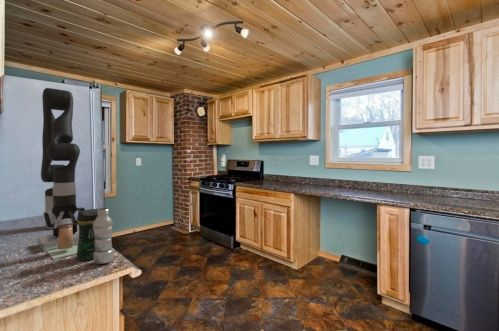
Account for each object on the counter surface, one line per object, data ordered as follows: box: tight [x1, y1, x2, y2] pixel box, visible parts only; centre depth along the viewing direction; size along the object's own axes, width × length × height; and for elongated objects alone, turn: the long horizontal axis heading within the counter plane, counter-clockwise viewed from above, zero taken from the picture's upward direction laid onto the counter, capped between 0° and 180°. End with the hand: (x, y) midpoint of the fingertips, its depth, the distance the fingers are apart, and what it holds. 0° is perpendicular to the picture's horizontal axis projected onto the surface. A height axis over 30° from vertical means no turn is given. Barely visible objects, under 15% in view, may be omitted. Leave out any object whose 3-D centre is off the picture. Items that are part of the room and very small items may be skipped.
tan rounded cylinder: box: [57, 223, 73, 250], centre depth 105 cm, size 5×5×9 cm
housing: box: [36, 233, 79, 253], centre depth 114 cm, size 12×12×4 cm
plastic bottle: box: [92, 207, 114, 265], centre depth 96 cm, size 6×7×20 cm
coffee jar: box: [76, 208, 98, 261], centre depth 102 cm, size 10×8×19 cm
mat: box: [46, 245, 78, 260], centre depth 106 cm, size 10×10×1 cm
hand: (65, 235), depth 105 cm, fingers closed on tan rounded cylinder, 5 cm apart
